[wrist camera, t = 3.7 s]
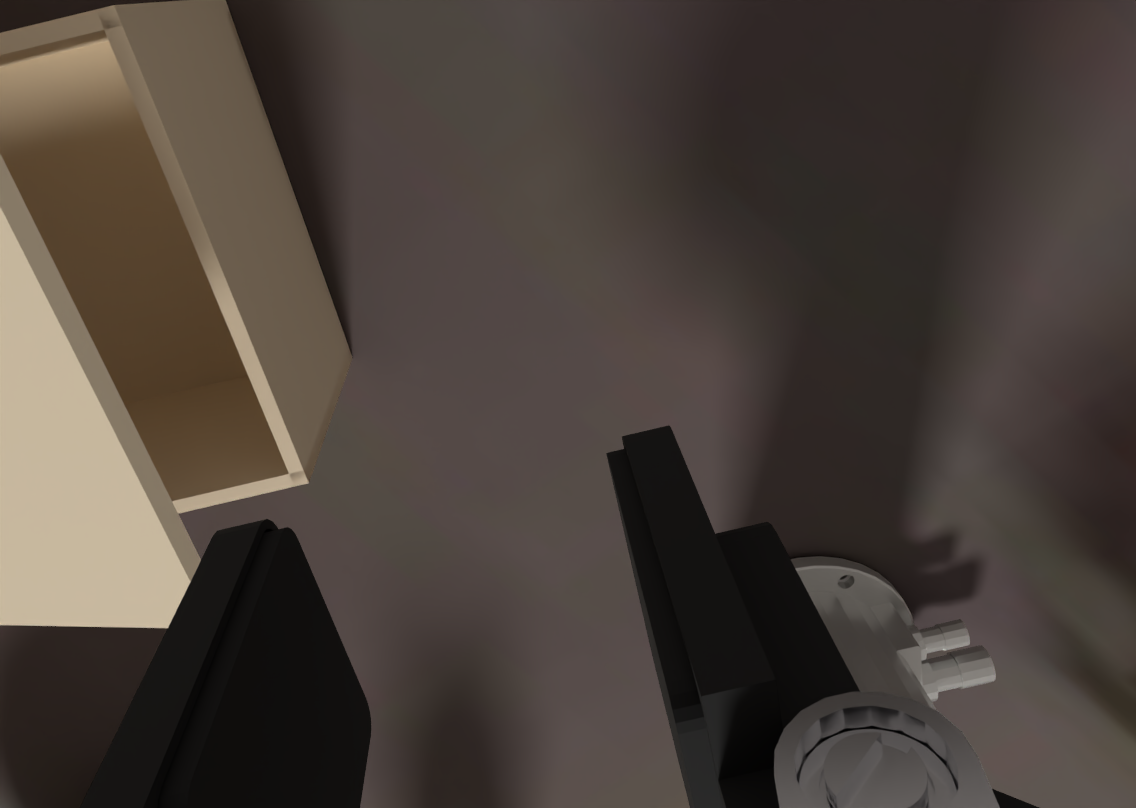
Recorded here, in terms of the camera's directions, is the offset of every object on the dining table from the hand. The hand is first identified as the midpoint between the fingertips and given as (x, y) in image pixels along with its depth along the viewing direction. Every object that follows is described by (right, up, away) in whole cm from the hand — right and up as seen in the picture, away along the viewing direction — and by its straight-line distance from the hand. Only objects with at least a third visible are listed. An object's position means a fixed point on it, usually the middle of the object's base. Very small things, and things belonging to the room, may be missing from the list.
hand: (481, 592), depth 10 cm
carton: (-19, +9, +27) cm, 34 cm away
